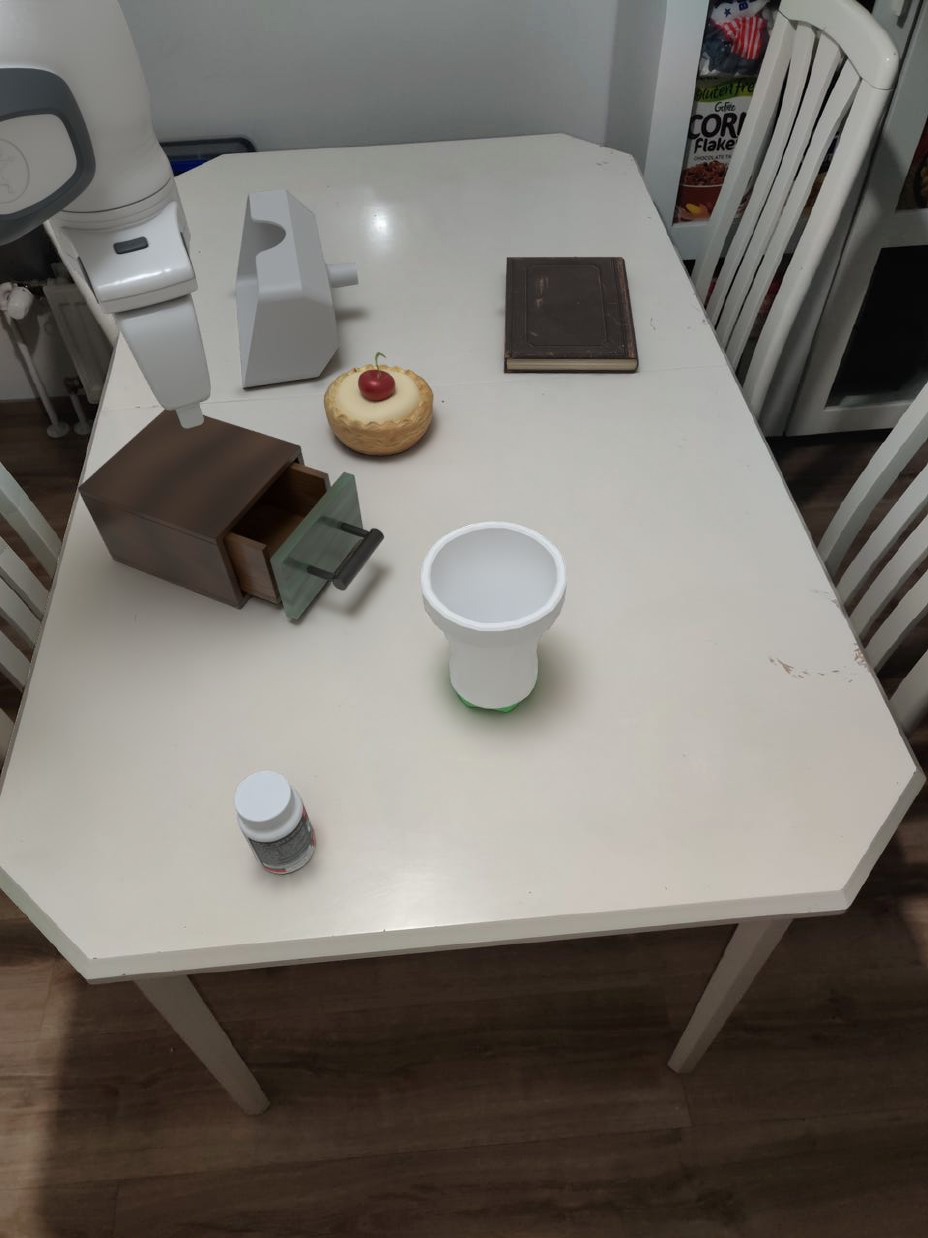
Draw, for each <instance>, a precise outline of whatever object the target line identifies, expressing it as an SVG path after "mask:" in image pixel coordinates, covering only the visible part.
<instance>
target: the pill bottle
mask: <svg viewBox="0 0 928 1238" xmlns="http://www.w3.org/2000/svg"><path fill="white" fill-rule="evenodd" d="M233 804H234V808H235V810H236V819H237V825H238V827H239V829H240V831H241V833H242V835H243V837H244V838H245V840H246V842H247V844H248V846H249V847H250V850H251V852H252V854H253V855H254V857H255V859H256V861H257V863H258V864H259V865H260V866H261V868H262V869H264V870H266V871H268V872H270V873H273V874H280V875H283V874H288V873H289V874H290V873H292V872H294V871H297V870H299V869H300V868H303V866H305V865H306V863H307V862H309V860H310V859H311V858H312V856H313V855H314V851H315V849H316V842H317V839H316V834H315V830H314V828H313V825H312V822H311V820H310V818H309V815H308V811H307V809H306V807H305V803H304V802H303V799H302V797H301V794H300V793H299V792H298V790H297V789H296V788H295V787H294V786H292V785H291V784H290V782H289V781H288V779H287V778H286V777H285V776H284V775H283V774H281V773H280V772H277V771H274V770H267V769H266V770H260V771H256V772H253V773H251V774H249V775H248V776H246V777H245V778H244V779H242V781H241V782H240V783H239V784H238V786H237V787H236V790H235V792H234V795H233Z"/></svg>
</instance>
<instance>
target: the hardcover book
mask: <svg viewBox="0 0 928 1238" xmlns="http://www.w3.org/2000/svg"><path fill="white" fill-rule="evenodd" d="M626 266H627V265H626V260H625V259H624V258H623V257H622V256H534V257H533V256H530V257H529V256H506V269H505V271H506V272H505V304H504V307H505V309H504V344H503V345H504V346H503V347H504V349H503V361H504V363H503V374H506V373H507V374H509V373H510V374H634V373H635V372H636V371H638V369H639V364H640V359H639V353H638V352H639V351H638V345H637V337H636V331H635V324H634V323H635V322H634V317H633V308H632V302H631V295H630V288H629V280H628V273H627V267H626Z"/></svg>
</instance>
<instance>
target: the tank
mask: <svg viewBox="0 0 928 1238" xmlns="http://www.w3.org/2000/svg"><path fill="white" fill-rule="evenodd" d="M320 237H321V236H320V232H319V227H318V223H317V217H316V213H315V212H313V211H312V210H311V209H310V208H309V207H308V206H306V205H305V204H304V203H303V202H302V201H300V199H298V198H297V197H296V196H295V195H294V194H292V193H291V192H290V191H289V190H288V189H287V188H279V189H271V190H264V191H263V190H262V191H255V192H248V194H247V199H246V205H245V212H244V220H243V226H242V234H241V241H240V248H239V256H238V262H237V268H236V269H237V270H236V276H235V277H236V278H235V301H236V311H237V312H236V315H237V328H238V341H239V356H240V369H241V382H242V388H245V389H246V388H251V387H257V386H266V385H271V384H279V383H285V382H287V383H288V382H292V381H299V380H306V379H307V380H308V379H313V378H319V377H320V375H321V374H322V372H323V371H324V369H325V368H326V367H327V365H328V363H329V362H330V361H331V359H332V358H333V356H334V354H335V353H336V352H337V350H338V348H339V347H340V340H339V333H338V326H337V321H336V320H337V319H336V314H335V309H334V301H333V297H332V292H331V290H334V289H338V288H344V287H350V286H357V285H359V277H358V271H357V265H356V262H344V263H334V264H328V263H326V262H325V256H324V251H323V247H322V242H321V238H320Z"/></svg>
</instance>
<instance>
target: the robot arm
mask: <svg viewBox="0 0 928 1238" xmlns="http://www.w3.org/2000/svg"><path fill="white" fill-rule="evenodd" d="M152 103H153V102H152V97H151V93H150V89H149V86H148V83H147V80H146V76H145V73H144V69H143V67H142V63H141V61H140V57H139V53H138V51H137V48H136V46H135V42H134V38H133V37H132V33H131V30H130V27H129V25H128V23H127V19H126V17H125V15H124V12H123V10H122V8H121V5H120V3H119V0H0V246H5V245H7V244H10V243H13V242H15V241H16V240H18V239H20V238H22V237H24V236H25V235H27V234H29V233H30V232H31V231H33V230H35V229H36V228H38V227H40V226H41V225H43V224H44V223H45V222H47V221H48V222H49V225H50V227H51V230H52V232H53V234H54V237H55V239H56V242H57V244H58V246H59V248H60V252H61V254H62V256H63V259H64V261H65V263H66V264H67V266H68V267H69V268H70V269H72V271H74V272H75V273H76V274H77V275H78V276H79V277H80V279H82V280H83V281H84V283H85V284H86V285H87V286H88V288H89V290H90V291H91V293H92V295H93V296H94V298H95V301H96V304H98V305H99V307H100V310H101V312H102V313H103V314H105V315H111V316H112V317H113V320H114V322H115V323H116V326H117V328H118V329H119V331H120V333H121V335H122V337H123V338H124V341H125V343H126V344H127V346H128V348H129V350H130V352H131V354H132V356H133V358H134V360H135V362H136V364H137V366H138V368H139V370H140V371H141V374H142V375H143V378H144V379H145V381H146V383H147V385H148V387H149V389H150V390H151V393H152V394H153V396H154V397H155V399H156V401H157V402H158V404H159V405H160V406H161V407H162V408H163V410H169V411H171V410H176V412H177V415H178V418H179V420H180V423H181V425H182V427H183V428H187V429H188V428H192V427H195V426H199V425H201V424H203V422H204V417H203V415H204V414H203V412H202V408H201V404H200V403H203V402H205V401H208V400H209V399H210V397H211V395H212V383H211V376H210V372H209V367H208V362H207V357H206V352H205V347H204V343H203V336H202V333H201V332H202V331H201V328H200V323H199V319H198V315H197V310H196V306H195V302H194V299H193V296H192V294H193V293H196V292H197V291H198V289H199V284H198V281H197V275H196V272H195V269H194V266H193V263H192V262H193V261H192V259H191V244H190V243H191V239H192V238H191V237H192V235H191V234H192V233H191V230H190V227H189V224H188V220H187V216H186V213H185V210H184V206H183V203H182V199H181V196H180V193H179V189H178V187H177V182H176V179H175V175H174V171H173V169H172V166H171V162H170V159H169V158H168V156H167V154H166V153H165V150H163V148H162V145H160V143H159V140H158V137H157V135H156V132H155V128H154V123H153V104H152Z"/></svg>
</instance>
